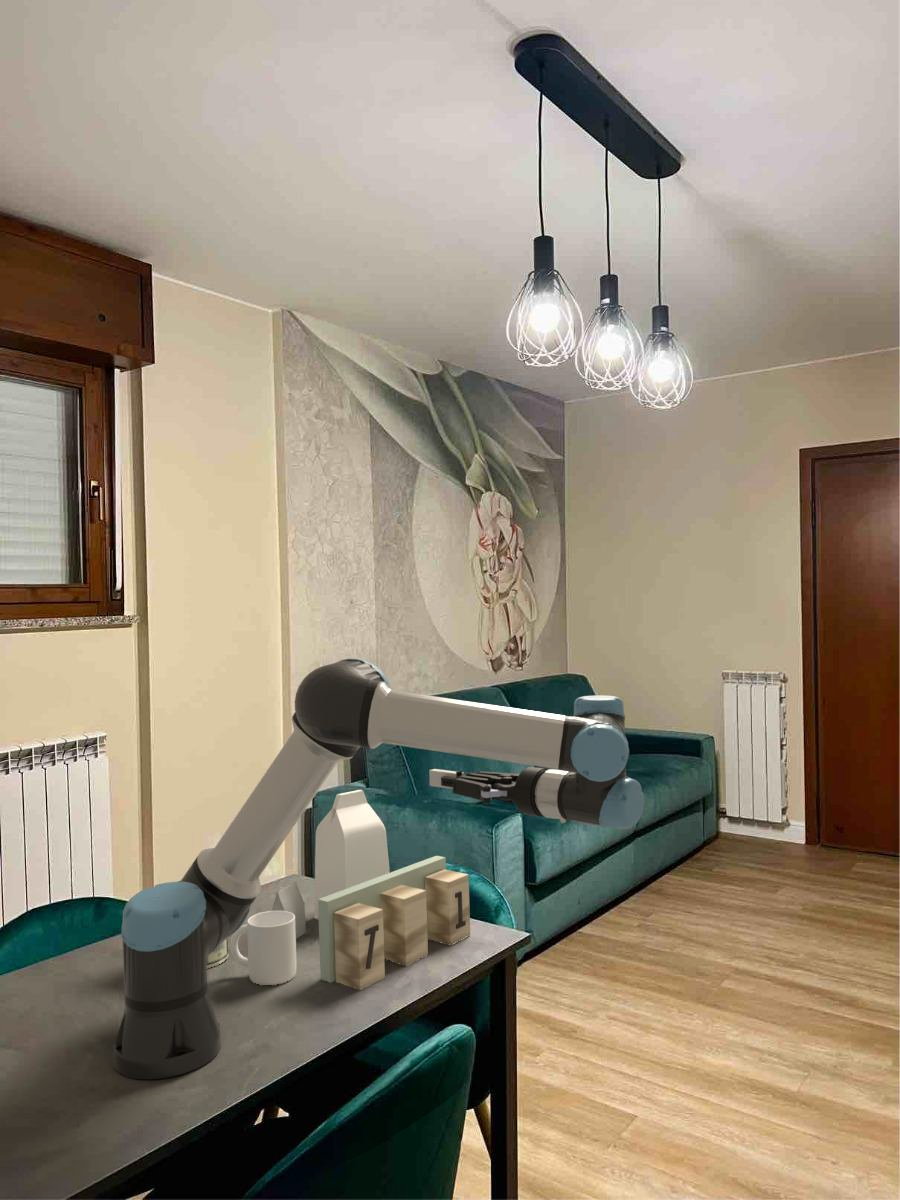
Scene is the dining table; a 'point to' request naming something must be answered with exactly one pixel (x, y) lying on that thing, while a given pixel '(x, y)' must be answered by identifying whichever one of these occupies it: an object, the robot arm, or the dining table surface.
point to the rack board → (366, 903)
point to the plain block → (404, 924)
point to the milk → (349, 846)
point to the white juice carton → (291, 906)
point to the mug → (268, 947)
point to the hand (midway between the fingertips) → (432, 777)
